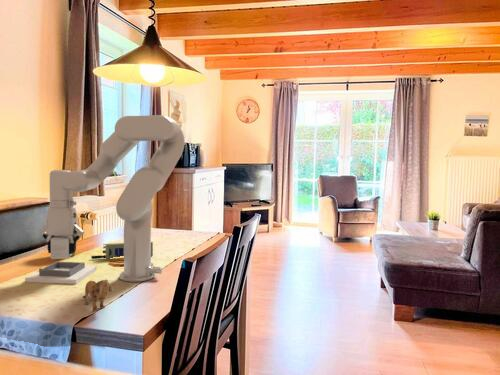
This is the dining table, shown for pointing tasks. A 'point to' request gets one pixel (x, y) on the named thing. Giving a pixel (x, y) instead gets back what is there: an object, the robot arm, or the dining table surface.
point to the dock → (62, 273)
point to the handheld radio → (115, 251)
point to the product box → (60, 247)
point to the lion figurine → (97, 292)
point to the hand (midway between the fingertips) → (61, 252)
